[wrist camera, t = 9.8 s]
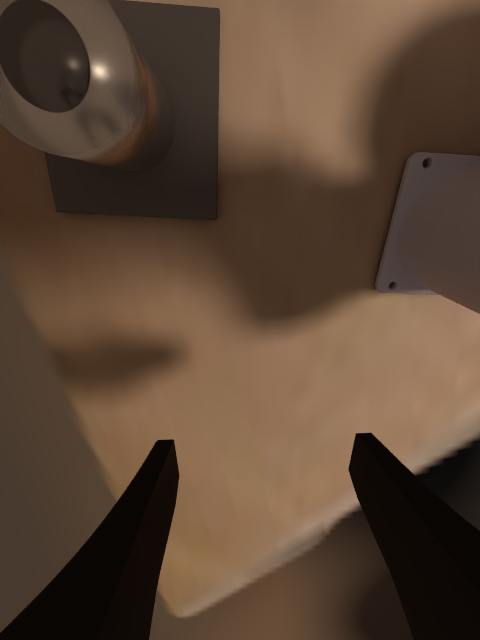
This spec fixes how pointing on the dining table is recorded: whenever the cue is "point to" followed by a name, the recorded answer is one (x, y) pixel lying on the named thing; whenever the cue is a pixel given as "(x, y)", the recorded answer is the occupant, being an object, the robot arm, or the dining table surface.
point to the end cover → (80, 85)
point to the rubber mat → (189, 113)
